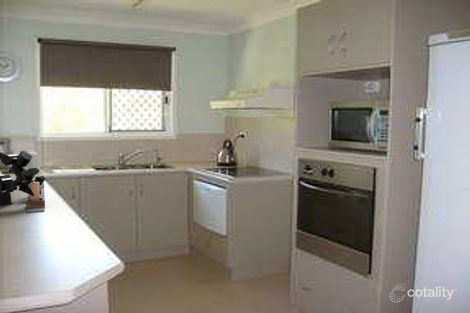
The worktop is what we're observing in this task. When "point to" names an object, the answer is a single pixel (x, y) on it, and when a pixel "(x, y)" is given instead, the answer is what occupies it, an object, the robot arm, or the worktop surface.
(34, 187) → the peg
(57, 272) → the worktop surface
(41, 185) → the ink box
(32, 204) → the socket block
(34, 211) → the mat
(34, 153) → the skyscraper
